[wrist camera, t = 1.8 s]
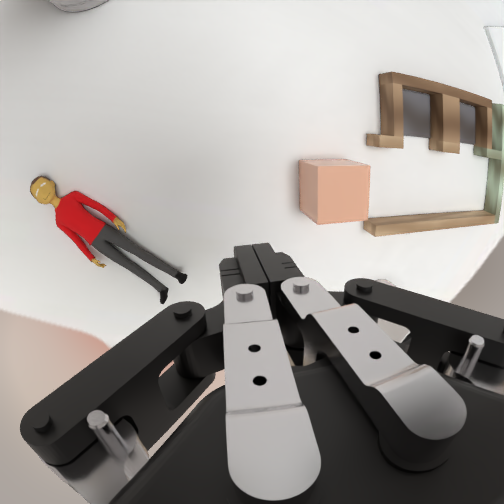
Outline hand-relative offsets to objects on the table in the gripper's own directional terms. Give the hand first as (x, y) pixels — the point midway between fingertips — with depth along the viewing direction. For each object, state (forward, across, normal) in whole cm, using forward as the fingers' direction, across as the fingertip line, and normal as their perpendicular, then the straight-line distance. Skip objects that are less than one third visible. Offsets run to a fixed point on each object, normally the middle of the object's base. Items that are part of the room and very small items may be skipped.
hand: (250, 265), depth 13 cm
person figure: (+17, +12, +2) cm, 21 cm away
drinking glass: (+17, -18, +15) cm, 29 cm away
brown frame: (+16, -27, -3) cm, 31 cm away
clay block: (+16, -10, 0) cm, 19 cm away
